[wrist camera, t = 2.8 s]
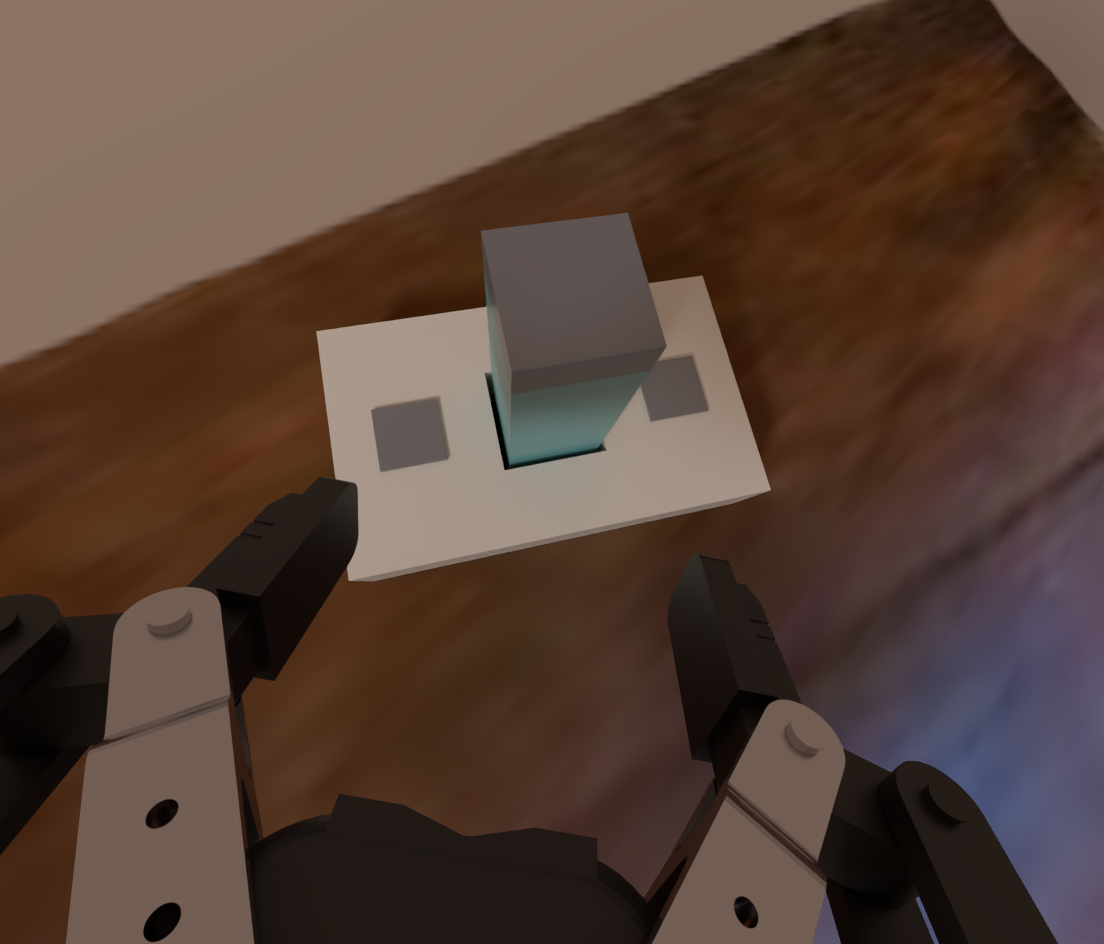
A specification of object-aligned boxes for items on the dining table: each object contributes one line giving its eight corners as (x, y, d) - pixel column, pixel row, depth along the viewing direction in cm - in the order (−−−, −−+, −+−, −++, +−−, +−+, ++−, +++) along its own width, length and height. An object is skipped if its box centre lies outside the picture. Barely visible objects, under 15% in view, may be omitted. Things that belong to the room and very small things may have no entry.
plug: (568, 393, 28) (628, 212, 14) (586, 465, 27) (667, 346, 13) (493, 406, 27) (481, 230, 14) (509, 480, 26) (511, 371, 13)
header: (676, 315, 30) (703, 273, 25) (733, 503, 27) (772, 489, 23) (344, 367, 27) (315, 329, 23) (373, 581, 24) (347, 580, 20)
